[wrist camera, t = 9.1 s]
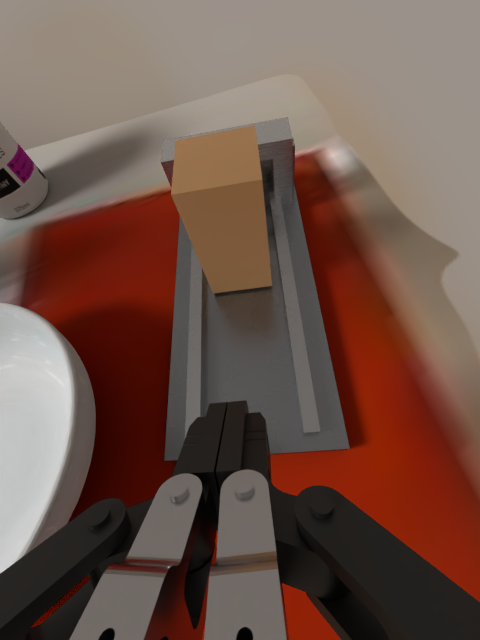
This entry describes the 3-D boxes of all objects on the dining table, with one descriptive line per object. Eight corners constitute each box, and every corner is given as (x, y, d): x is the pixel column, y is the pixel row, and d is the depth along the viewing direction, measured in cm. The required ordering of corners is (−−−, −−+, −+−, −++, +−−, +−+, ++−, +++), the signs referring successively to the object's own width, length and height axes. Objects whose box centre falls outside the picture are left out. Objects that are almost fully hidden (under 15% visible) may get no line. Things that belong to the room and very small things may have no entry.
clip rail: (346, 449, 19) (376, 437, 12) (170, 461, 20) (113, 456, 14) (292, 186, 31) (293, 109, 25) (184, 204, 33) (157, 135, 26)
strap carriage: (272, 285, 24) (262, 179, 15) (213, 293, 25) (170, 194, 16) (259, 188, 30) (247, 70, 21) (212, 196, 30) (180, 84, 22)
